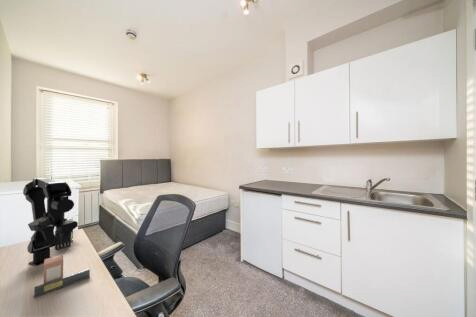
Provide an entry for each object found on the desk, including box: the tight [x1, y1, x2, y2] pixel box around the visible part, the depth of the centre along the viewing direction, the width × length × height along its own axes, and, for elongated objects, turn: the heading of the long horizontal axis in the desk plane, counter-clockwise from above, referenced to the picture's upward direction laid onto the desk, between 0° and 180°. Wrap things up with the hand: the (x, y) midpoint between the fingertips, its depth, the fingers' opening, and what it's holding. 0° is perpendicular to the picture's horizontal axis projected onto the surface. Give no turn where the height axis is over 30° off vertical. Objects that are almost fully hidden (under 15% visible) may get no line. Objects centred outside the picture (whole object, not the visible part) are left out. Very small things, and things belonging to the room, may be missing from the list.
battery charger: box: [54, 228, 72, 250], centre depth 104 cm, size 7×4×11 cm, turn 140°
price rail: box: [33, 268, 91, 299], centre depth 73 cm, size 2×16×4 cm, turn 136°
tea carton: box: [43, 254, 64, 284], centre depth 74 cm, size 6×6×10 cm
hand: (55, 242), depth 82 cm, fingers open, 9 cm apart
